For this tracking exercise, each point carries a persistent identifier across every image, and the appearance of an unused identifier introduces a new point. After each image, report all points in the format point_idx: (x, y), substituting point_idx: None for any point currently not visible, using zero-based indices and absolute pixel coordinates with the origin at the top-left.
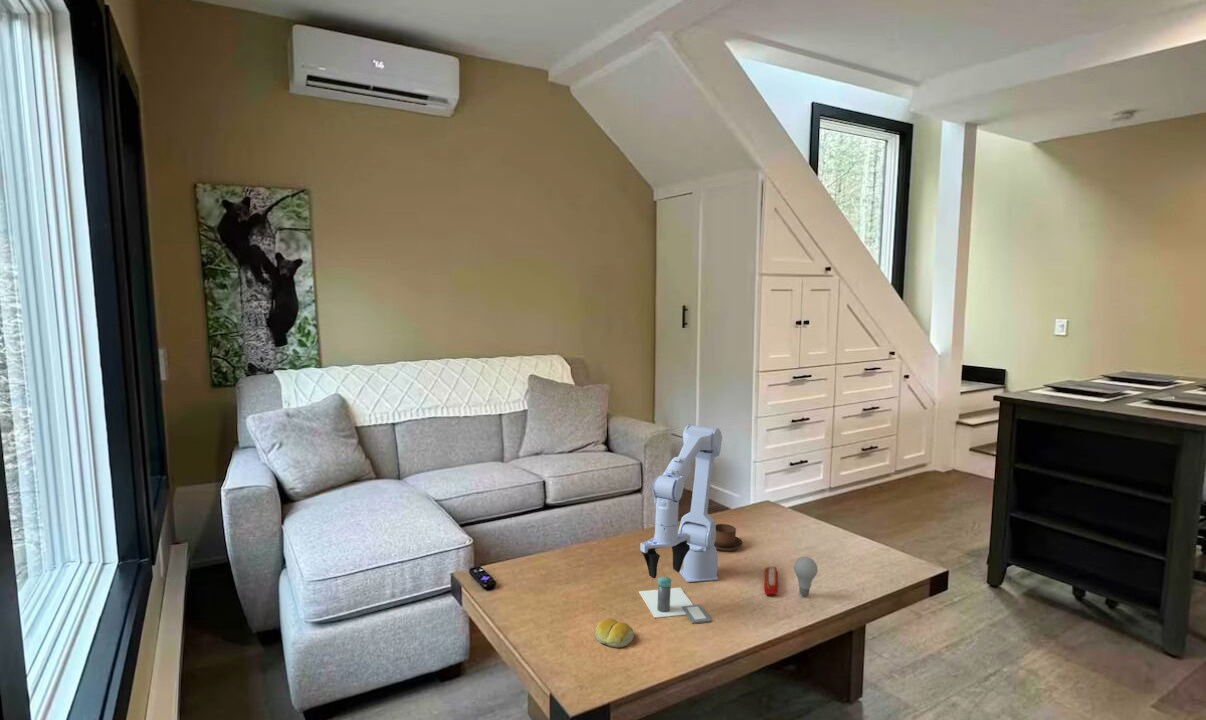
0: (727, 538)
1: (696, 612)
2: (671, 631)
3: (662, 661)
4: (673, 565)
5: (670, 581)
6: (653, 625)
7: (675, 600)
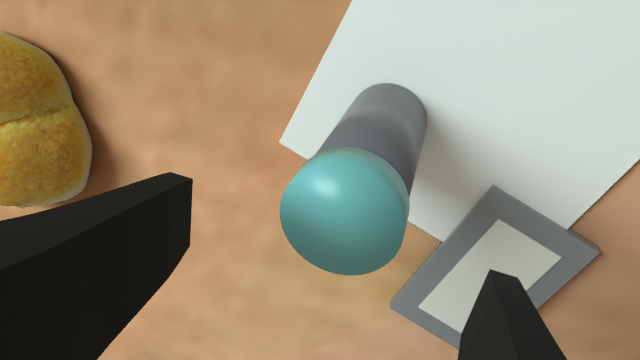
0: None
1: None
2: (264, 261)
3: None
4: (490, 300)
5: (359, 272)
6: (230, 177)
7: (550, 104)
